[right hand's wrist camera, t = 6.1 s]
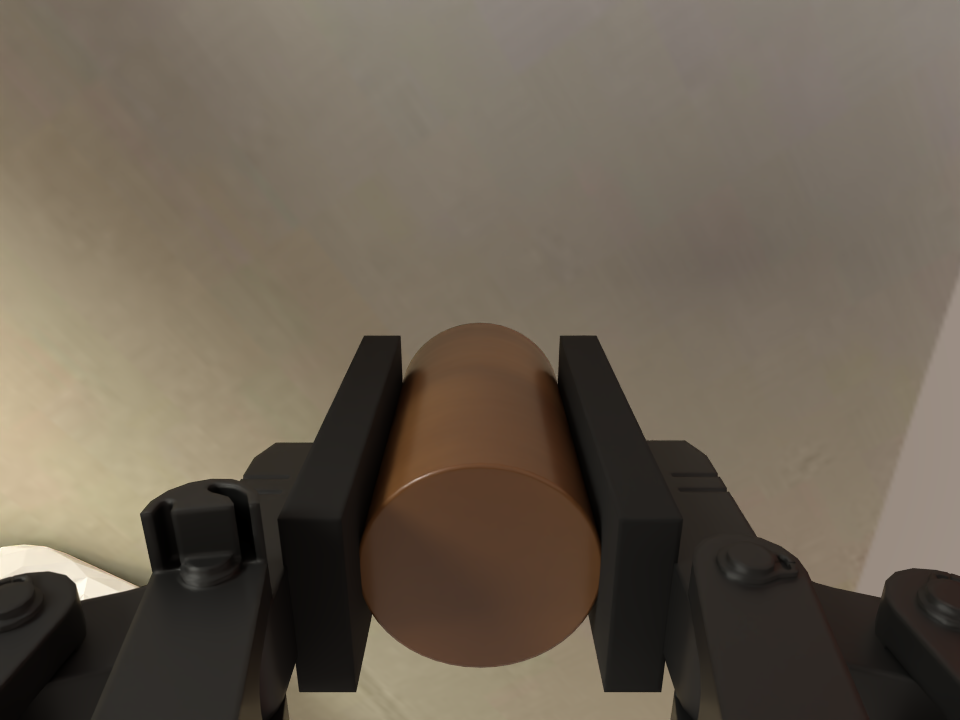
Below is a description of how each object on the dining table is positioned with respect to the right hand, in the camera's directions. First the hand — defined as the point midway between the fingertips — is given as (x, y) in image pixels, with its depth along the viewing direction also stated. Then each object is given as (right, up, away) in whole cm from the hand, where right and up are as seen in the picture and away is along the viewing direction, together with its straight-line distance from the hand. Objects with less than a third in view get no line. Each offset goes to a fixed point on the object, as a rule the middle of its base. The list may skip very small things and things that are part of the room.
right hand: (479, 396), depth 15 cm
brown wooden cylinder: (0, 0, 0) cm, 0 cm away
